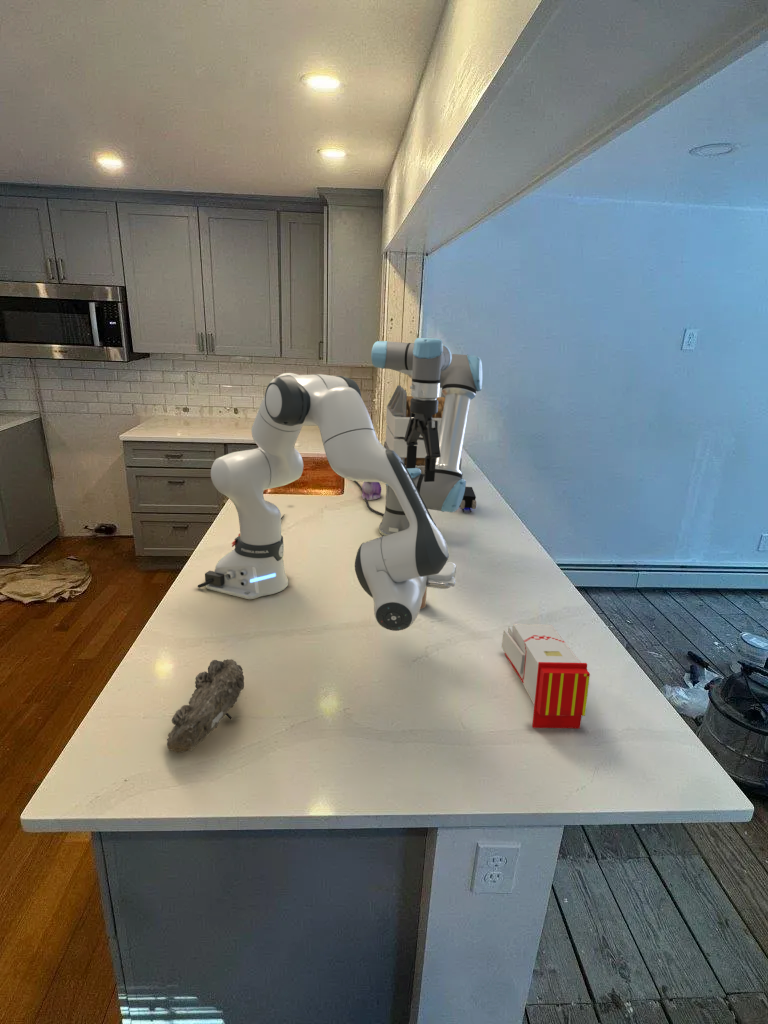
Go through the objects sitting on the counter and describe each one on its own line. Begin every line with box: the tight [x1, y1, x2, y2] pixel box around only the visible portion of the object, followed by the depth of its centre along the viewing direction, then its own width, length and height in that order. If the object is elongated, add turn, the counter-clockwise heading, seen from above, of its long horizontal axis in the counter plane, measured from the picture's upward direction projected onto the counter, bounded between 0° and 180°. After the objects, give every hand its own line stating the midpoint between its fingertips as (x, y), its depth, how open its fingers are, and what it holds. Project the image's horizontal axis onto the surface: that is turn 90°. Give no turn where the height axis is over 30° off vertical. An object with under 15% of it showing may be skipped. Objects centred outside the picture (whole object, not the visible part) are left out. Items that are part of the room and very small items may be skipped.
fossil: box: [166, 658, 245, 754], centre depth 106 cm, size 22×10×15 cm
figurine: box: [361, 482, 382, 501], centre depth 234 cm, size 9×10×15 cm
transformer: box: [383, 384, 463, 472], centre depth 268 cm, size 34×33×41 cm
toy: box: [501, 623, 591, 729], centre depth 120 cm, size 12×13×30 cm
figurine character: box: [459, 486, 477, 514], centre depth 227 cm, size 7×8×15 cm
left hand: (415, 556), depth 135 cm, fingers open, 8 cm apart
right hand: (419, 474), depth 159 cm, fingers open, 13 cm apart
